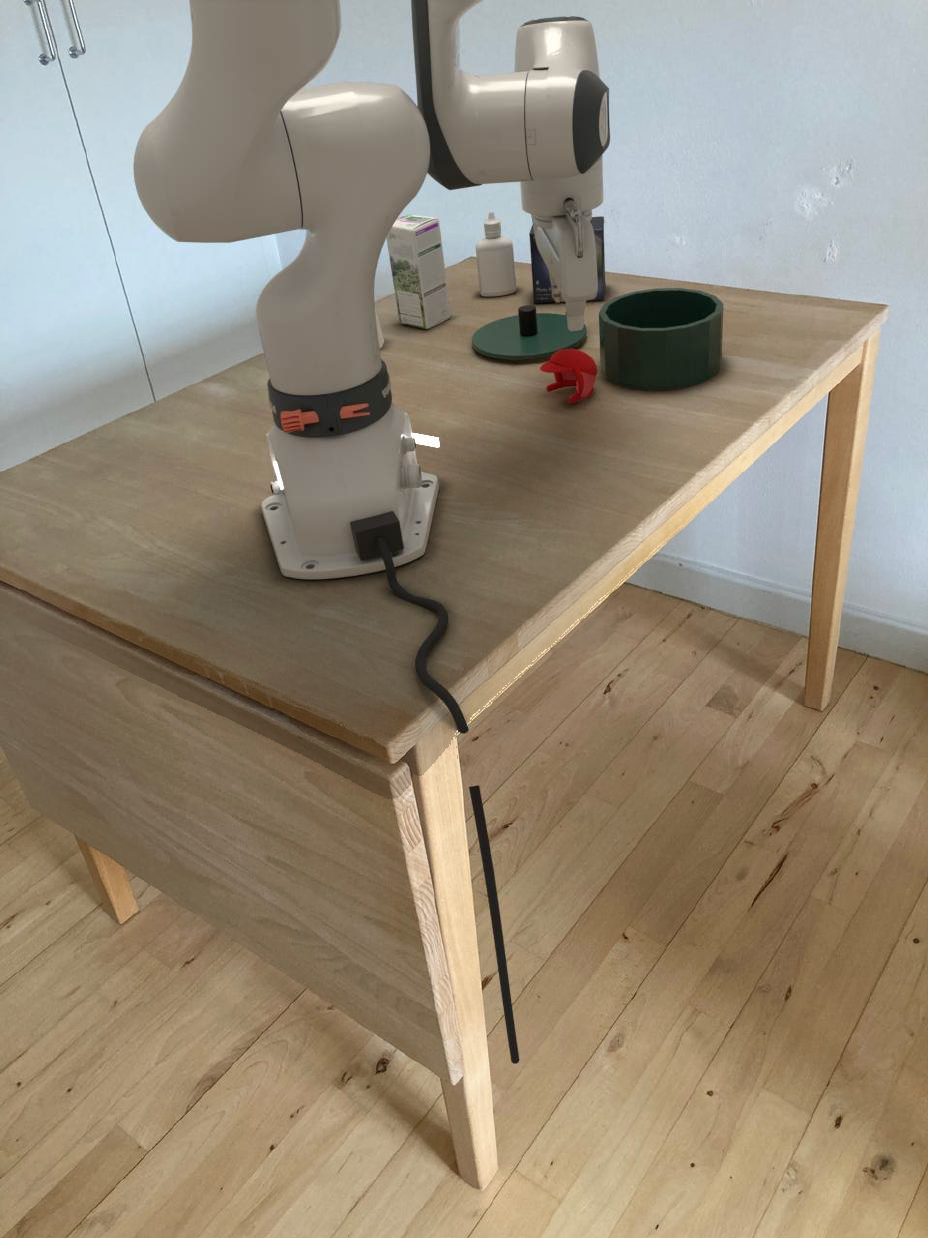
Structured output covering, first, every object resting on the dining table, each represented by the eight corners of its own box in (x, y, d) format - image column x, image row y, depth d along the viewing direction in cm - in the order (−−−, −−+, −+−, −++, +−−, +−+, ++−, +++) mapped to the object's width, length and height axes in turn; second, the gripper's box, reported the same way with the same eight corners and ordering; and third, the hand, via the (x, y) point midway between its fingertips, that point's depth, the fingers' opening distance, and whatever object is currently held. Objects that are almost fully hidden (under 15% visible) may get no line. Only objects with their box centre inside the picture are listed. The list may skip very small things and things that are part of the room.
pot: (736, 380, 124) (739, 319, 119) (616, 397, 123) (615, 337, 119) (700, 338, 136) (702, 281, 131) (590, 354, 135) (588, 297, 131)
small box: (532, 305, 153) (527, 232, 147) (536, 290, 158) (532, 219, 152) (604, 301, 151) (602, 227, 145) (606, 286, 156) (604, 214, 150)
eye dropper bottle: (508, 298, 157) (501, 216, 150) (475, 296, 159) (467, 215, 152) (520, 289, 160) (514, 208, 153) (488, 287, 162) (480, 207, 155)
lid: (597, 354, 135) (596, 318, 132) (479, 371, 135) (475, 336, 132) (574, 314, 148) (573, 282, 145) (467, 330, 147) (463, 297, 145)
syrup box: (452, 317, 152) (440, 215, 144) (426, 330, 149) (412, 227, 141) (424, 311, 156) (411, 211, 147) (397, 325, 152) (382, 223, 144)
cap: (564, 380, 129) (561, 334, 126) (607, 387, 126) (605, 339, 123) (531, 406, 124) (528, 358, 120) (575, 413, 121) (573, 364, 117)
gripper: (611, 209, 103) (613, 343, 111) (574, 163, 119) (578, 282, 127) (548, 218, 103) (555, 351, 111) (519, 170, 119) (527, 289, 127)
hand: (567, 313), depth 119 cm, fingers open, 8 cm apart
